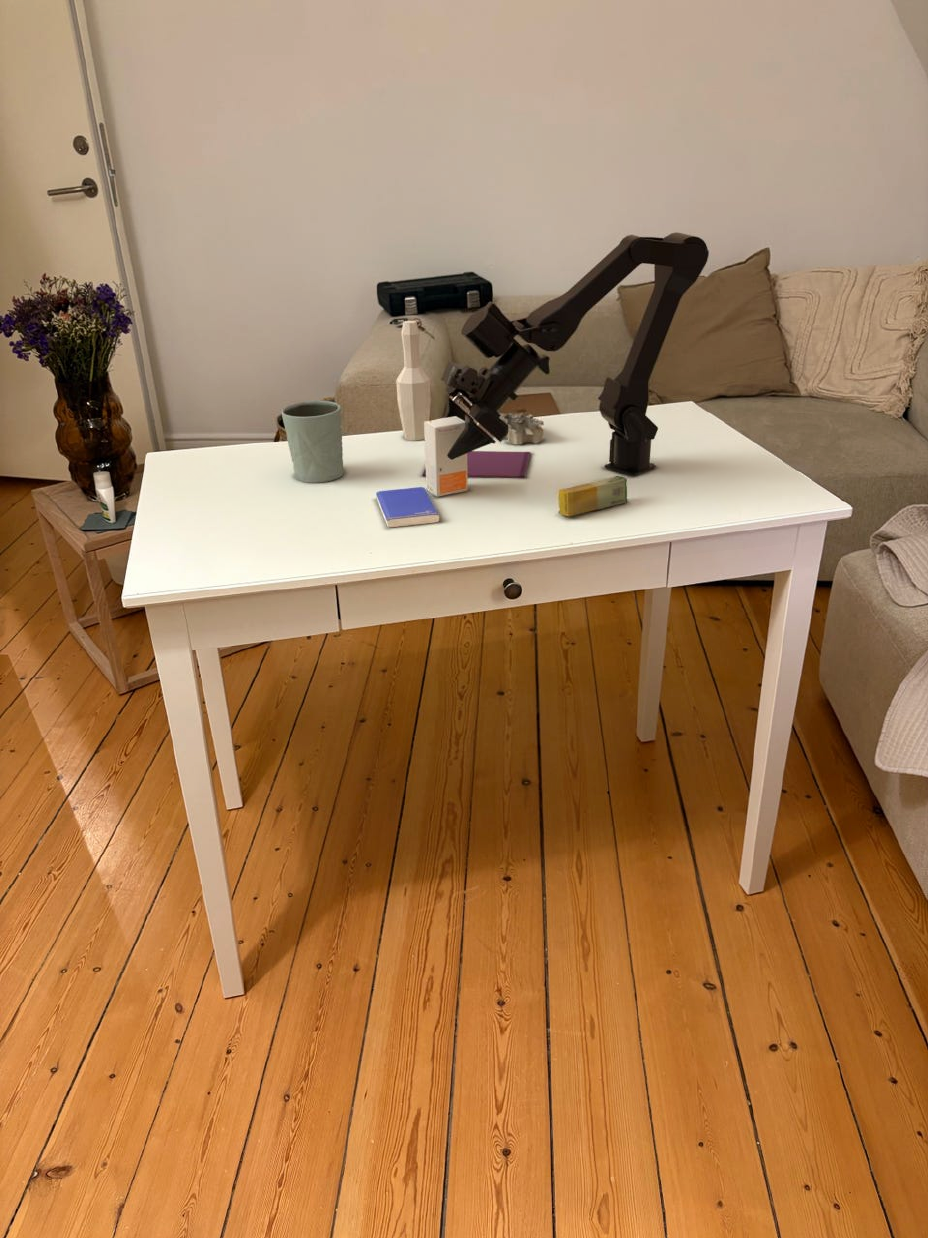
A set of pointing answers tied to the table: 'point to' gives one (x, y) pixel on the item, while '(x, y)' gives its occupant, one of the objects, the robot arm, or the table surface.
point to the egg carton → (523, 428)
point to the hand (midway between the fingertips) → (442, 449)
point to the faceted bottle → (413, 386)
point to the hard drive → (407, 507)
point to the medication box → (592, 496)
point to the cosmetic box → (444, 457)
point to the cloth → (496, 464)
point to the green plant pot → (315, 440)
